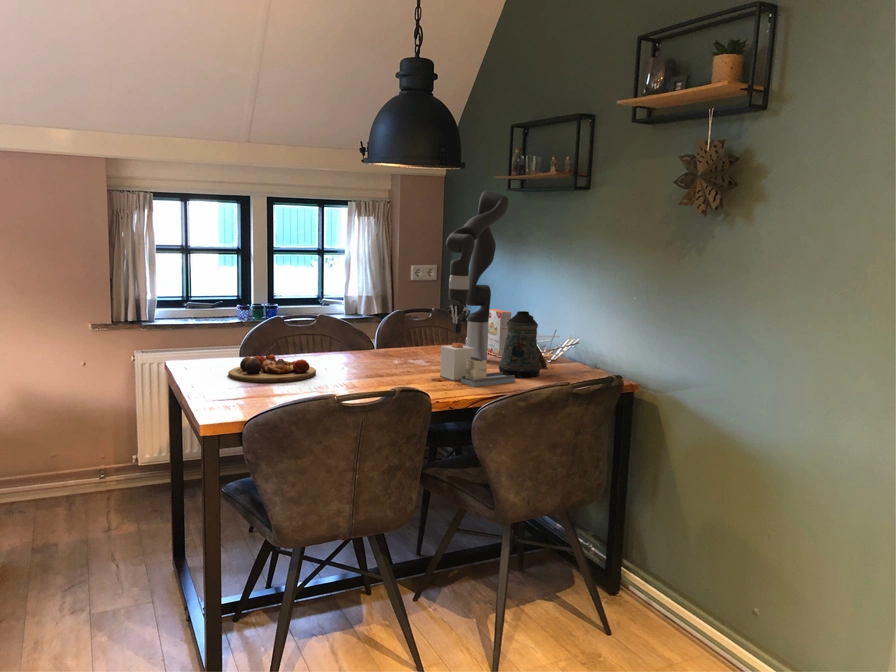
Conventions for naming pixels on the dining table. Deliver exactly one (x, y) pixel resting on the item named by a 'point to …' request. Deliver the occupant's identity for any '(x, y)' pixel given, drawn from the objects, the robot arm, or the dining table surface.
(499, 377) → the rail
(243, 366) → the wooden plate with food
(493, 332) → the cracker box
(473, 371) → the carriage
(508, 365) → the beer stein
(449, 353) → the light grey hollow box
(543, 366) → the rock
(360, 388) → the dining table surface
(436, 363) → the dining table surface
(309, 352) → the dining table surface
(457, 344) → the orange dimpled block
